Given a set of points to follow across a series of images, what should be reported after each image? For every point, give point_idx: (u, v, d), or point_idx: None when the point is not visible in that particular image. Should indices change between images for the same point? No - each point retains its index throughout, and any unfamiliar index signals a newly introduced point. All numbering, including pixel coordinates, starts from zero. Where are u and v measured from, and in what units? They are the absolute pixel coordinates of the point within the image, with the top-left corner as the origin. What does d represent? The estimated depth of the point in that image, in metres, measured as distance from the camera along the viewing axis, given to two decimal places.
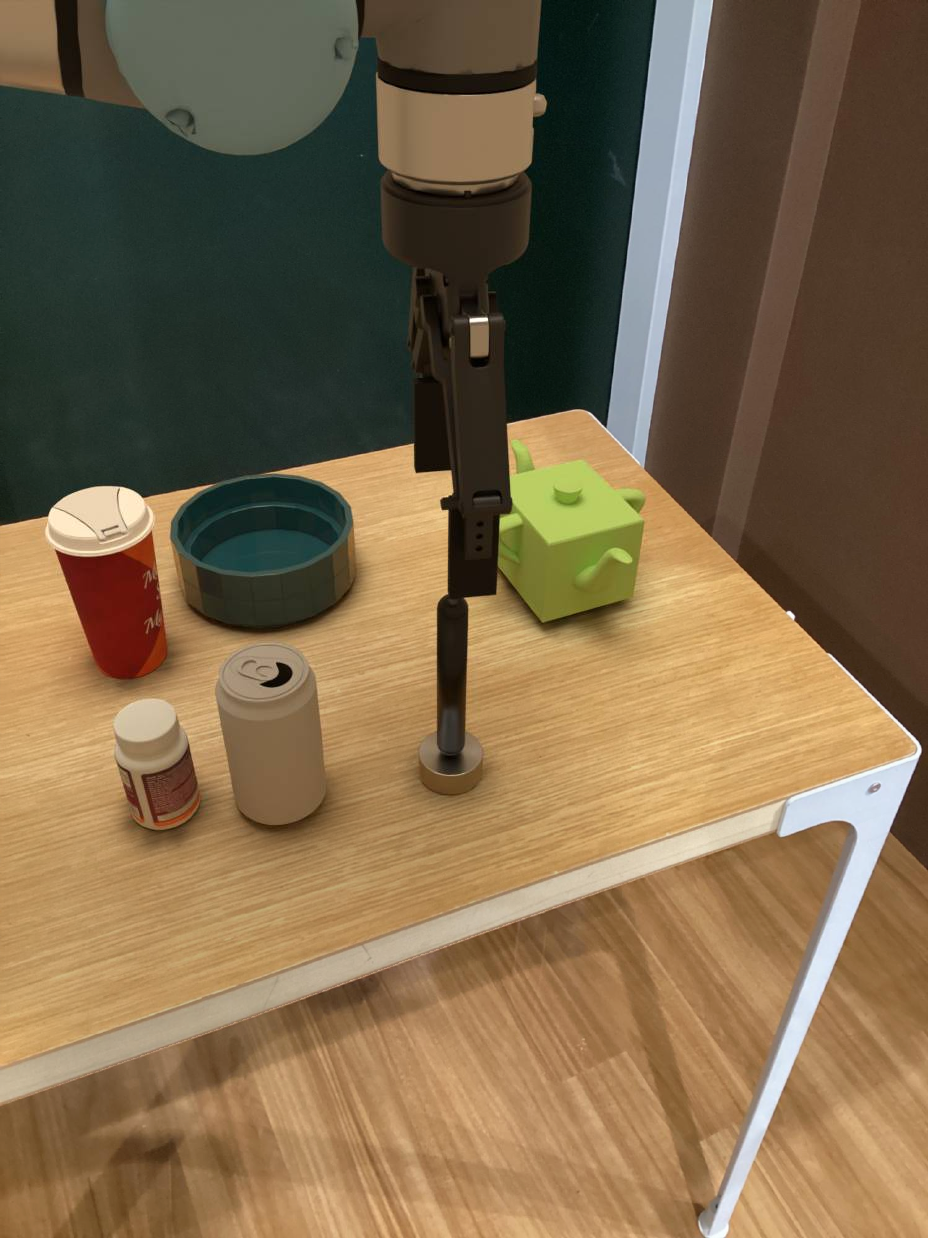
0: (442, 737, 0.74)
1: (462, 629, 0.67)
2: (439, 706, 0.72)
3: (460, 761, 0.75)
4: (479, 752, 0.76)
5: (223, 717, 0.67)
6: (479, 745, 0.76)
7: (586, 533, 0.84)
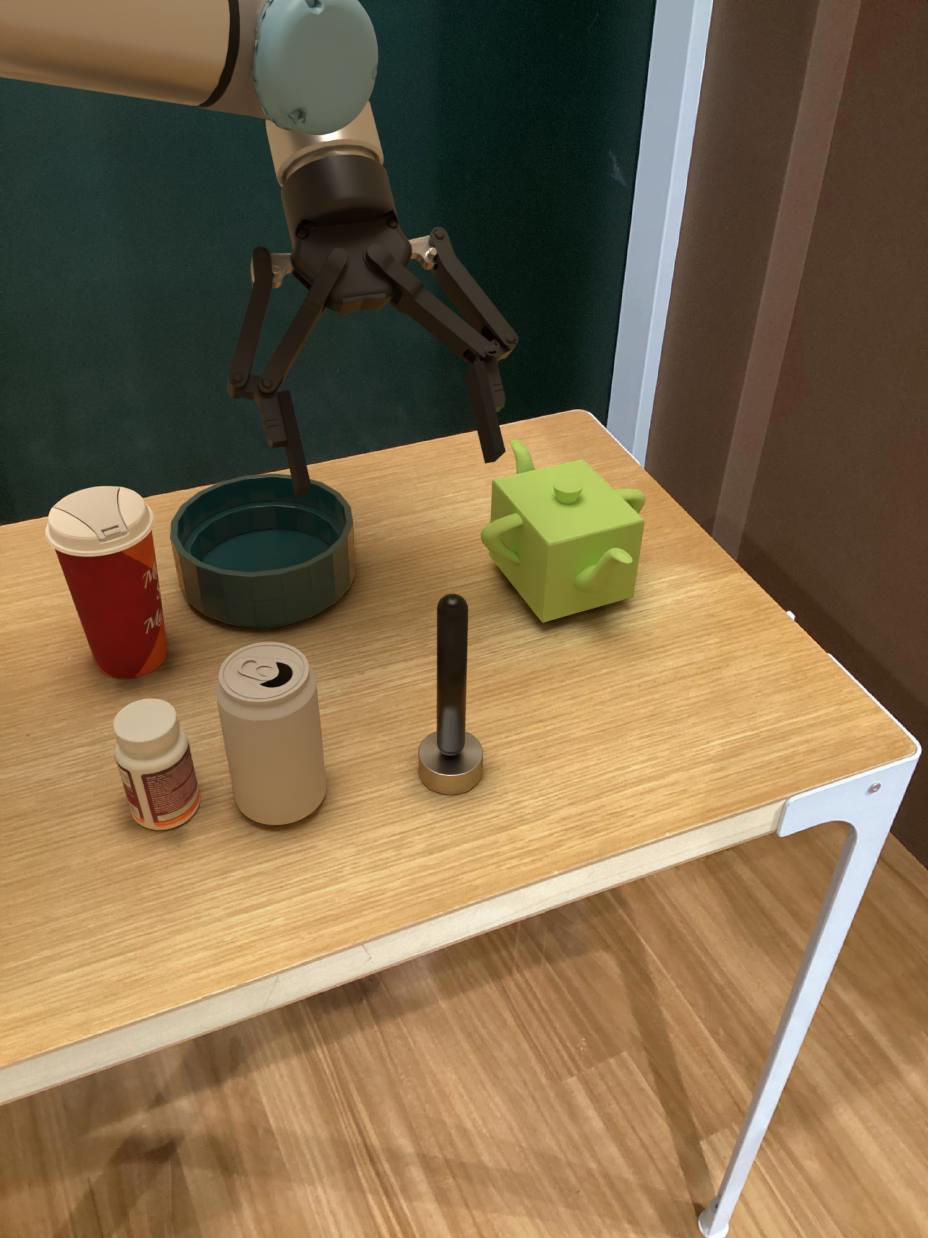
0: (442, 737, 0.74)
1: (462, 629, 0.67)
2: (439, 706, 0.72)
3: (460, 761, 0.75)
4: (479, 752, 0.76)
5: (223, 717, 0.67)
6: (479, 745, 0.76)
7: (586, 533, 0.84)
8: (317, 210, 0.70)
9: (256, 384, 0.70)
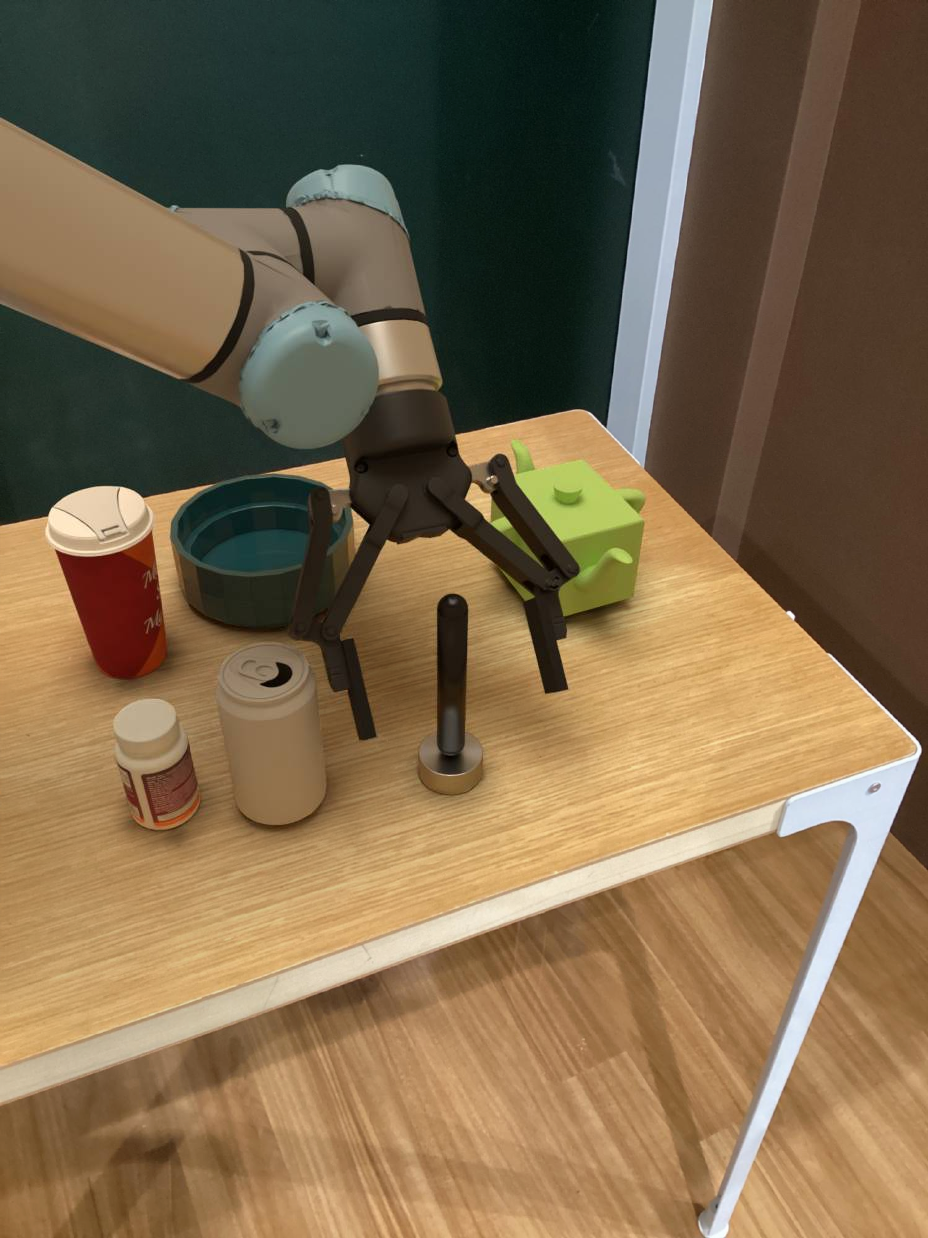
0: (442, 737, 0.74)
1: (462, 629, 0.67)
2: (439, 706, 0.72)
3: (460, 761, 0.75)
4: (479, 752, 0.76)
5: (223, 717, 0.67)
6: (479, 745, 0.76)
7: (586, 533, 0.84)
8: (378, 449, 0.68)
9: (319, 631, 0.68)
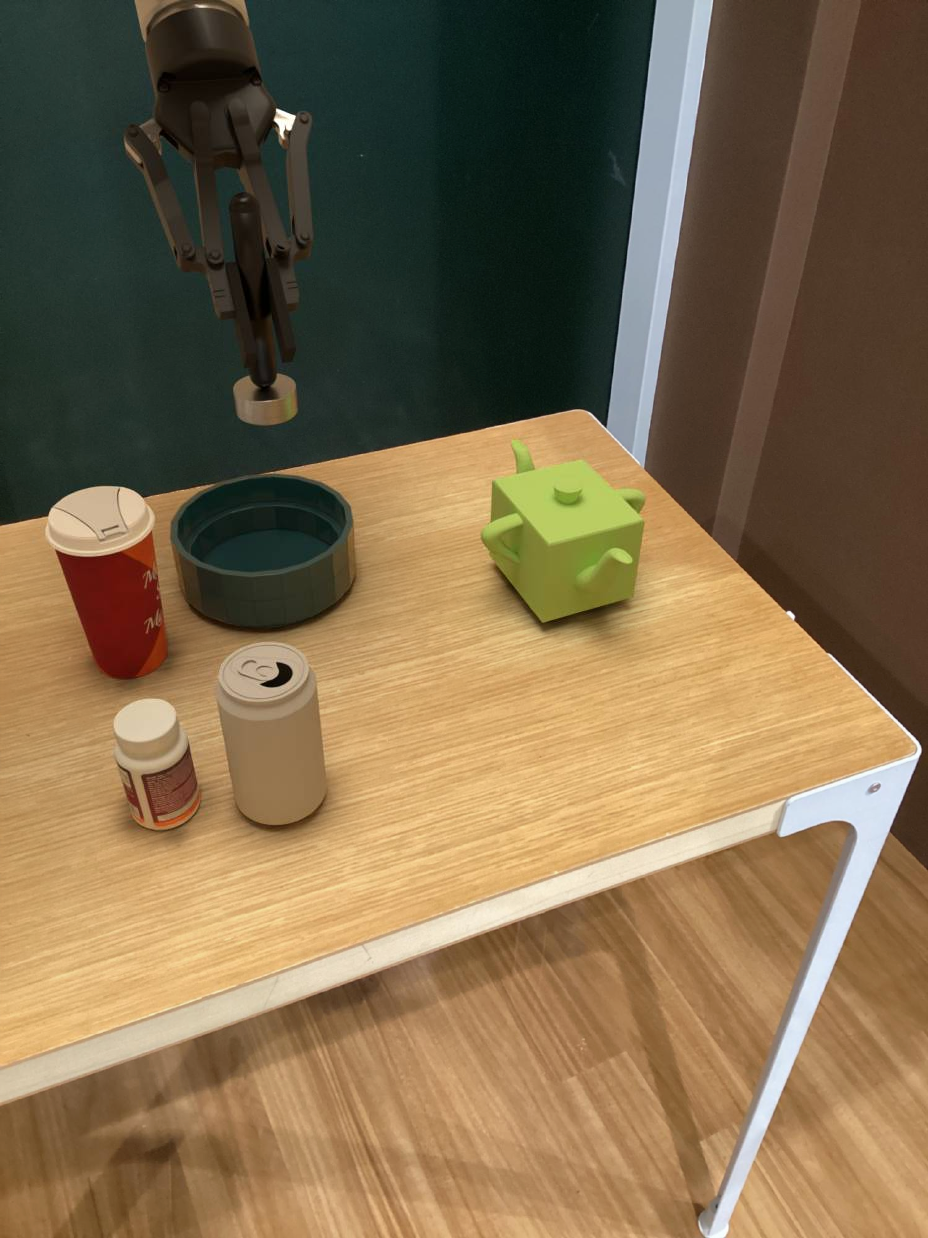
0: None
1: (254, 227, 0.71)
2: None
3: (271, 392, 0.78)
4: (292, 387, 0.79)
5: (223, 717, 0.67)
6: (293, 382, 0.79)
7: (586, 533, 0.84)
8: (176, 62, 0.71)
9: (206, 261, 0.73)
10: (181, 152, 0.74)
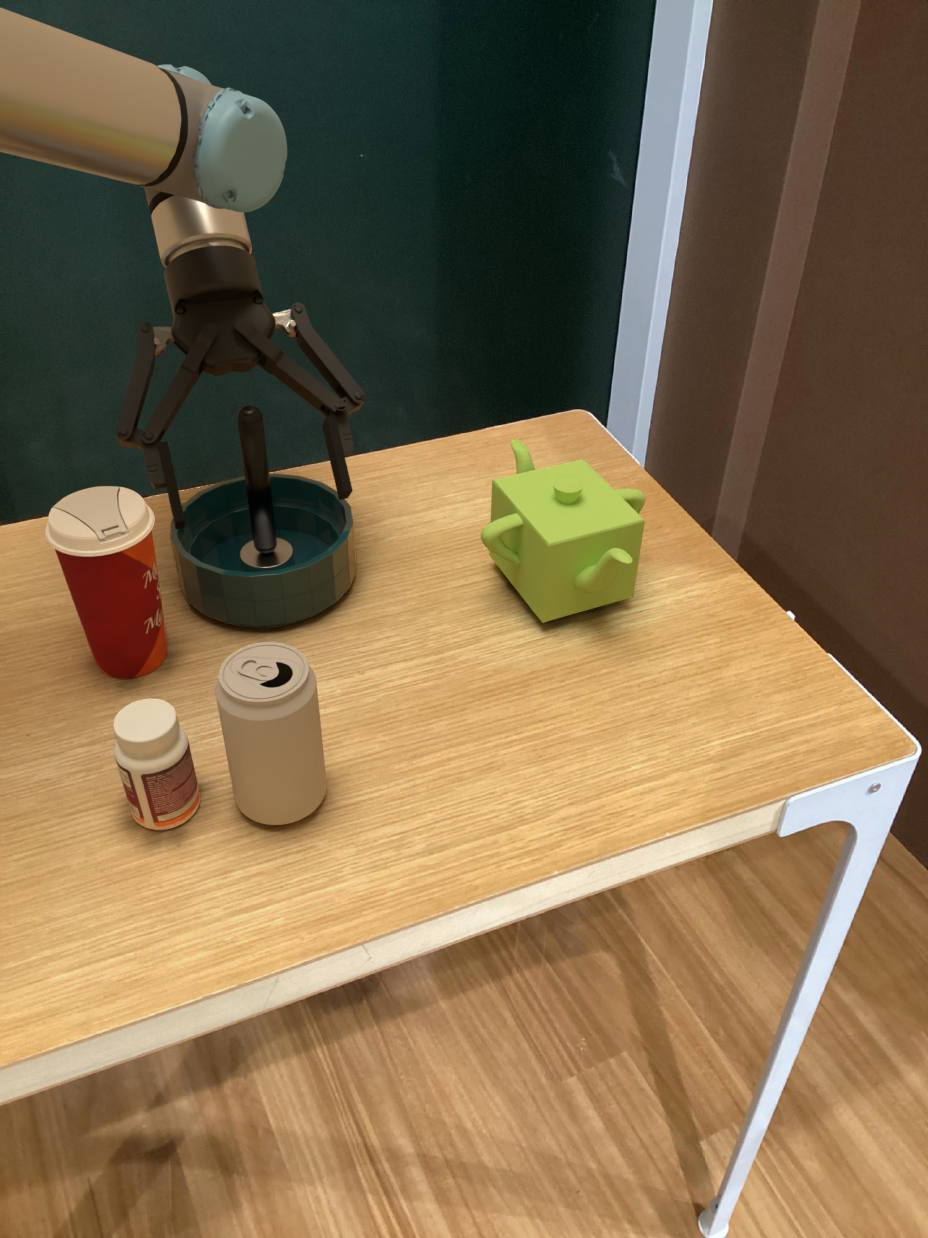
0: (255, 535, 0.90)
1: (257, 434, 0.84)
2: (249, 506, 0.89)
3: (272, 558, 0.92)
4: (289, 552, 0.92)
5: (223, 717, 0.67)
6: (291, 547, 0.93)
7: (586, 533, 0.84)
8: (191, 292, 0.85)
9: (140, 436, 0.84)
10: None
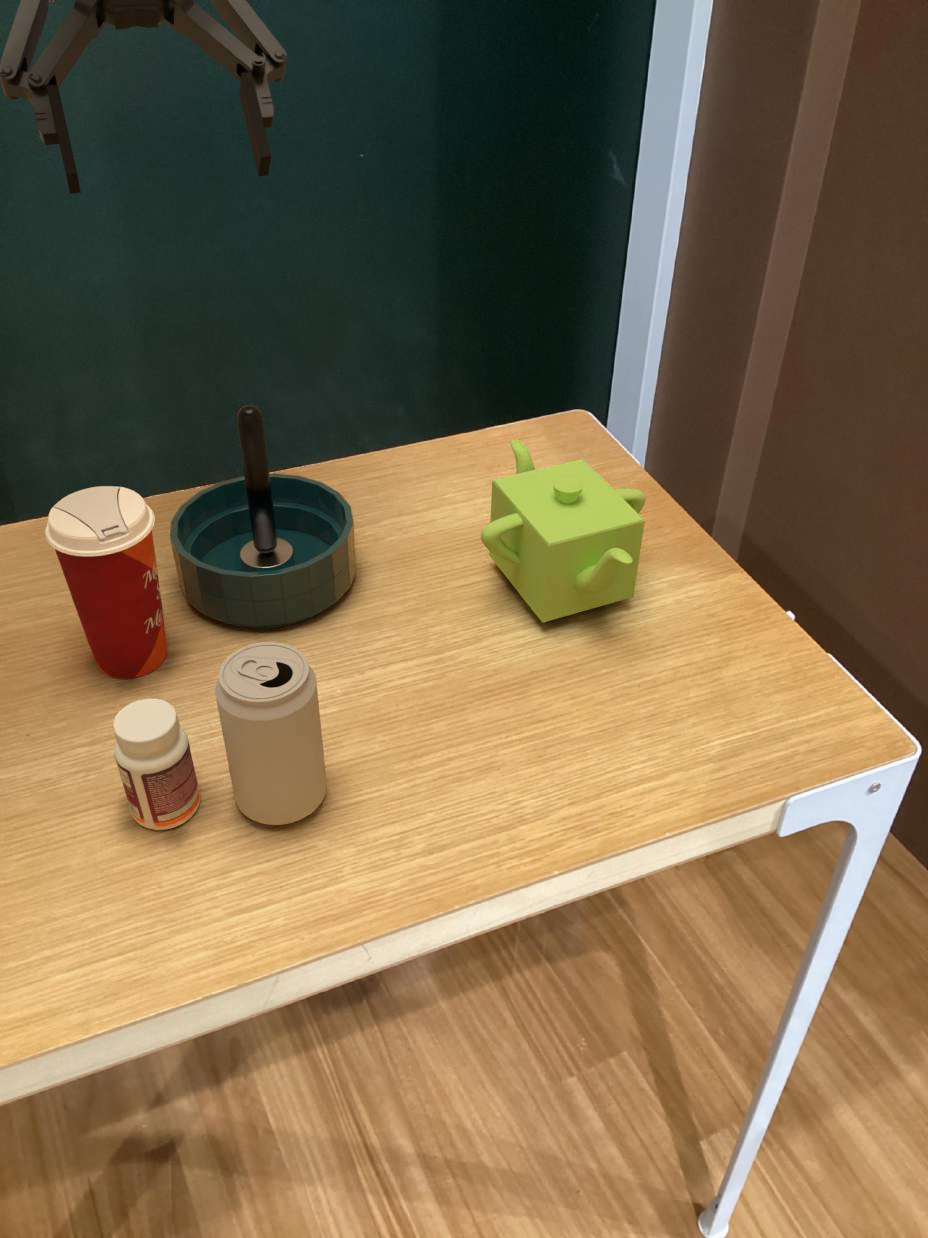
0: (255, 535, 0.90)
1: (257, 434, 0.84)
2: (249, 506, 0.89)
3: (272, 558, 0.92)
4: (289, 552, 0.92)
5: (223, 717, 0.67)
6: (291, 547, 0.93)
7: (586, 533, 0.84)
8: None
9: (27, 80, 0.75)
10: None
